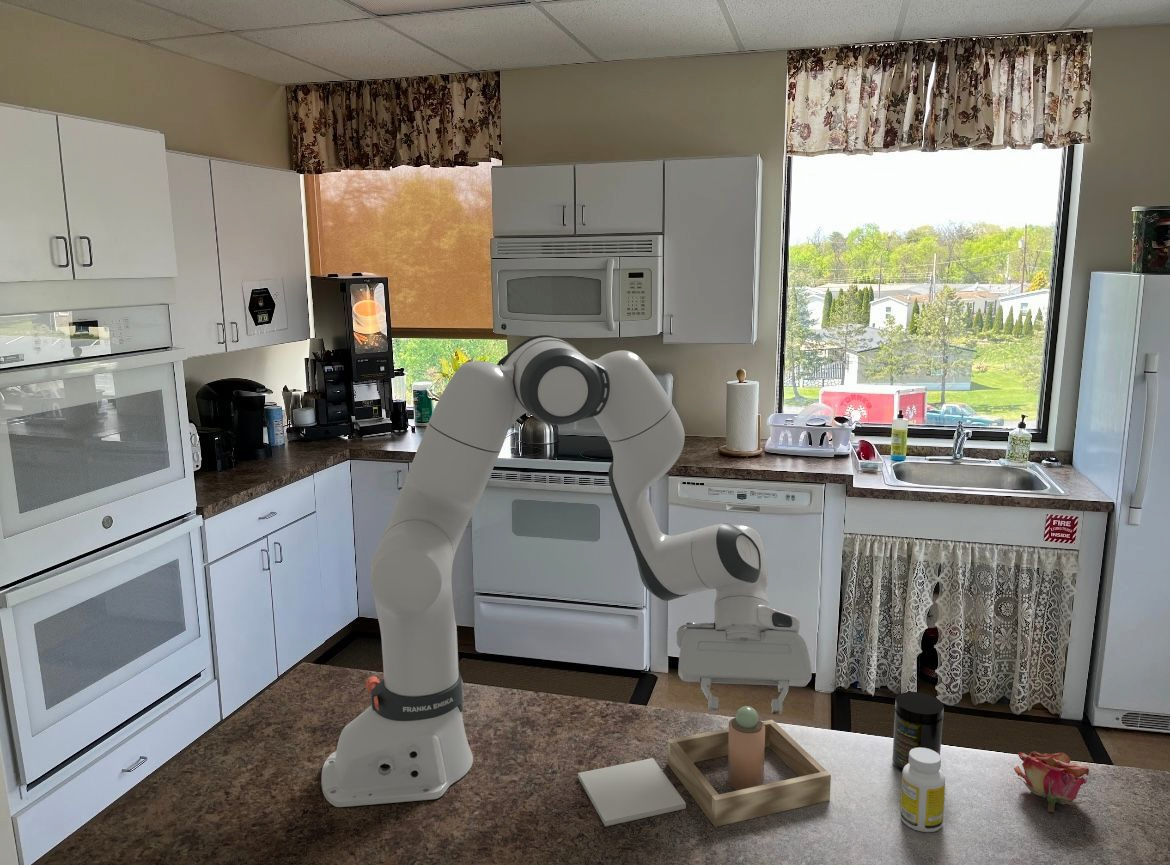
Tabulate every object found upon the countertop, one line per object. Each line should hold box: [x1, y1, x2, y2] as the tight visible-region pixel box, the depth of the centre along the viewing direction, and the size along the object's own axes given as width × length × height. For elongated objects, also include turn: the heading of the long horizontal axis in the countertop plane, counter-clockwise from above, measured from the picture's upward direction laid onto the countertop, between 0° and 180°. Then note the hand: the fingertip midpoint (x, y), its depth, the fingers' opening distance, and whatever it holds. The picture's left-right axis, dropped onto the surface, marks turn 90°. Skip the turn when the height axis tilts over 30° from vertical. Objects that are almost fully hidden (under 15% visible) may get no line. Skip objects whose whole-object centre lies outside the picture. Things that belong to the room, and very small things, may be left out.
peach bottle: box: [727, 705, 766, 791], centre depth 124 cm, size 5×5×12 cm
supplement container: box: [892, 691, 945, 773], centre depth 128 cm, size 7×7×10 cm
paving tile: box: [577, 757, 687, 827], centre depth 123 cm, size 12×12×1 cm
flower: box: [1013, 750, 1091, 814], centre depth 119 cm, size 10×9×8 cm
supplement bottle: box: [899, 748, 946, 833], centre depth 115 cm, size 5×5×10 cm
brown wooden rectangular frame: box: [667, 719, 832, 828], centre depth 125 cm, size 18×16×4 cm
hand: (745, 711), depth 128 cm, fingers open, 8 cm apart
